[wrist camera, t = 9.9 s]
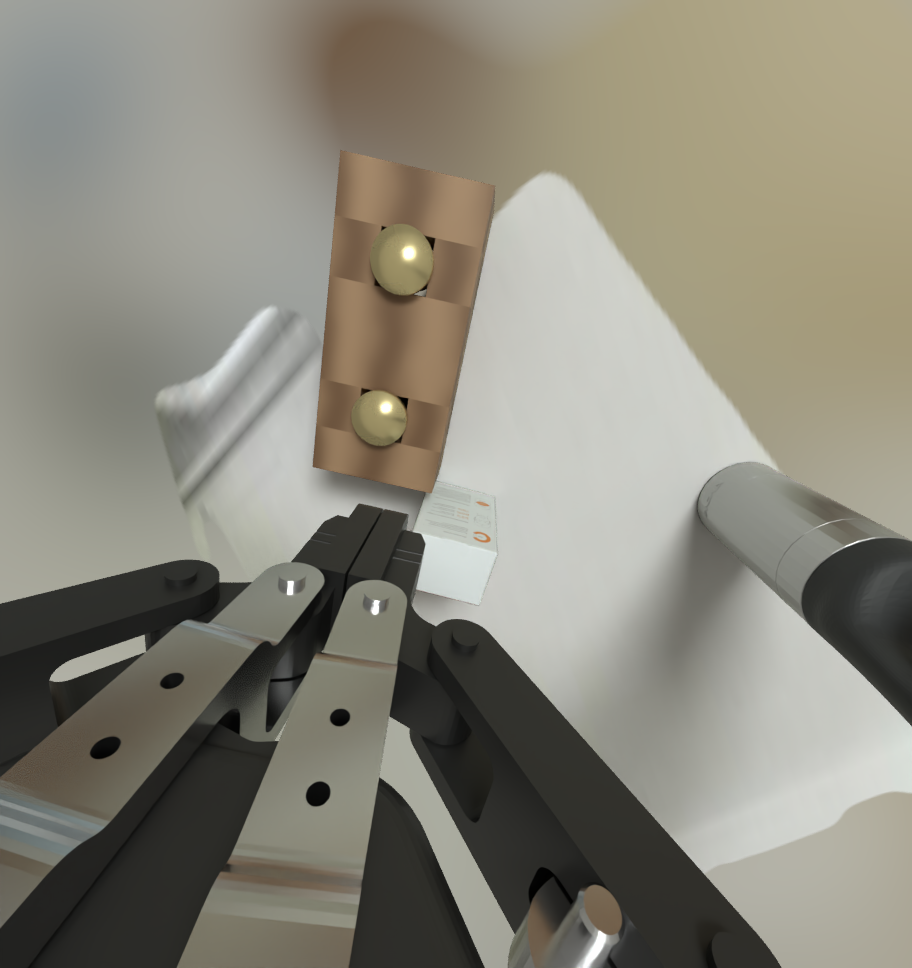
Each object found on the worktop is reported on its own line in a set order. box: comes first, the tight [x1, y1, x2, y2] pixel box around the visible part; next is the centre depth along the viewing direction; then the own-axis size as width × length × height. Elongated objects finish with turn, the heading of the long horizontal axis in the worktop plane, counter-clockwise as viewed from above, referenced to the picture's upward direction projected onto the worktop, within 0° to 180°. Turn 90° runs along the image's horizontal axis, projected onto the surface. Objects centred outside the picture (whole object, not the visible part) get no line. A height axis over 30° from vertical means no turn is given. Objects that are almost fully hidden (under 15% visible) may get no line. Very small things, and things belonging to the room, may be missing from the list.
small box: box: [412, 481, 498, 606], centre depth 45 cm, size 8×6×13 cm
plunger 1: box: [370, 224, 434, 296], centre depth 37 cm, size 5×5×8 cm
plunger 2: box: [351, 390, 409, 446], centre depth 42 cm, size 5×5×8 cm
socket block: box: [313, 150, 495, 493], centre depth 40 cm, size 12×26×8 cm, turn 168°
